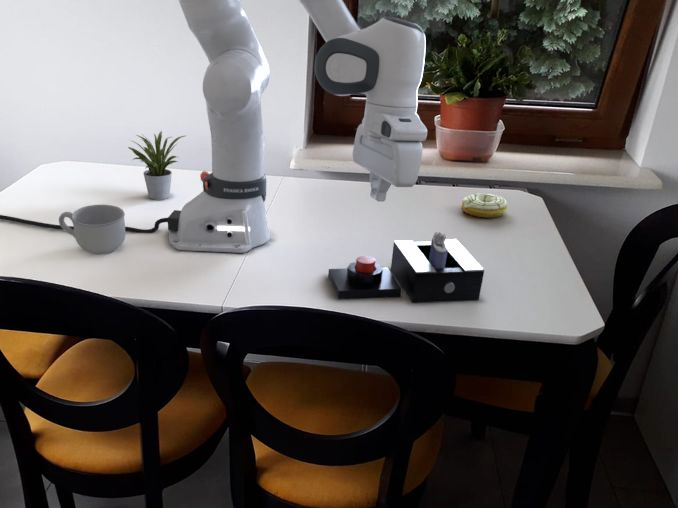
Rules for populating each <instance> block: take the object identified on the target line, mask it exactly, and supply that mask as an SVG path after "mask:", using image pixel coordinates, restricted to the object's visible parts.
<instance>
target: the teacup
mask: <svg viewBox="0 0 678 508" xmlns="http://www.w3.org/2000/svg"><path fill="white" fill-rule="evenodd" d="M125 215H126V213H125V211H124V210H123V209H122V208H120V207H119V206H116V205H111V204H91V205H86V206H83V207H80V208H78V209H76V210H75V211H73V212H70V211H64V212H62V213H61V214H60V215H59V217H58V223H59V224H58V225H60V226H61V227H62V229H64V230H63V231H65V232H66V233H68V234H69V235H71V236H73V238H74V239H75V242H76V243H77V245H78V246H79V247H80V248H81V249H82V250H85V251H86V252H87V253H90V254H92V255H106V254H110V253H113V252H115V251H116V250H117V249H119V248H120V247H121V246H122V245H123V244H124V242H125V239H126V231H125V227H126V223H125V222H126V220H125ZM65 218H67V219H68V218H69V219H70V221H71V223H72V225H73V227H74V230H73V229H71V228H70V227H69V226H70V225H68V224H67V223H66V222H65Z"/></svg>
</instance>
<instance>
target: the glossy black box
mask: <svg viewBox="0 0 678 508" xmlns="http://www.w3.org/2000/svg"><path fill="white" fill-rule="evenodd" d="M431 242H432V240H430V241H429V240H428V241H427V240H426V241H414V240H412V239H411V240H394V241H393V246H392V255H391V263H390V272H391V273H392V275H393V276H394V278H395V280H396V281H397V283H398V284H399V286H400V287H401V289H403V291H404V292H405V294H406V296H407V297H408V299H409V300H410V302H411V303H412V304H414V303H415V304H416V303H417V304H418V303H444V302H445V303H446V302H467V301H468V302H469V301H472V302H473V301H479V300H480V296H481V290H482V285H483V279H484V275H485V268H484V267H483V266H482V265H481V264H480V263H479V262H478V261H477V260H476V259H475V258H474V256H473V255H472V254H471V253H470V252H469V251H468V250H467V249H466V248H465V247H464V246H463V245H462V244H461V242H460V241H459V240H457V238H451V239H449V238H447V239H445V246H446V248H447V250H448V253H447V258H446V263H445V268H435V269H434V268H433V266H432V265H431V264H430V263H429V256H430V250H431Z"/></svg>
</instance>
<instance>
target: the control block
mask: <svg viewBox="0 0 678 508" xmlns="http://www.w3.org/2000/svg"><path fill="white" fill-rule="evenodd" d="M327 277H328V280H329V282H330V285H331V286H332V288H333V289H332V290H333V292H334V293H335V295H336V297H337V299H338V300H363V299H386V298H387V299H389V298H391V299H392V298H401V297H402V296H401V295H402V286H401V285H400V283H399V282H398V280H397V279H396V277H395V276H394V274H393V272H392V271H391V269H389V267H388V266H381V265H380V264H378V263H376V262H375V270H374V272H371V273H364V272H359V271H357V270H356V261H354V262H350V263H349V265H347V267H346V268H328V274H327Z"/></svg>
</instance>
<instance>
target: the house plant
mask: <svg viewBox="0 0 678 508" xmlns="http://www.w3.org/2000/svg"><path fill="white" fill-rule="evenodd" d="M136 136H137V137H139V138H140V139H141V140H142V141H143V143H144V144H145V145H146V146H142V145H140V144H139V143H138V142H136V141H134V140H130V139H129V141H130V142H132V143H134V144H136V145H137V146H139V148H140V149H142V150H143V152H144V153H145V154H146V155H145V154H144V153H142V152H141V151H139V150H138V149H135V148H133V147H130V146H127V148H128V149H129V150H130V151H132V153H133V154H134V155H135V156H137V157H134V158H132V161H133V160H140V162H141V163H142V162H143V163H145V165H146V166H145V168H144V171H143V177H144V182H145V186H146V190H147V194H148V198H149V199H150V200H153V201H163V200H166V199H168V198H170V194H171V185H172V175H173V172H172V171H171V170H170V169H167V167H168V166H169V165H171V166H172V165H173V163H178V160H173V159H176V158H179V159H180V157H179V156H177V155H171V156H169V154H170V153H171V152H172V150H173V149H174V147H175V146H176V144H175V143H176V142H177V141H178V140H179V139H181V138H184V137H186V135H181V136H178V137H176V138H175V139H173V140H172V141H171V143H170V144H169V146H168V147H166V146H167V144H168V139H170V138H172V136H169V137H166V138H165V140H164V142H163V145H161V143H162V139H163V130H160V132H159V133H158V135H156V134H155V133H153V136H154V146H155V148H154V146H153V144H152V142H151V141H150V140H149V139H148V138H147V137H146V136H144V135H143V136H140V135H137V134H136ZM161 146H162V148H161ZM166 148H167V149H166ZM168 156H169V157H168ZM146 169H147V170H146Z"/></svg>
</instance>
